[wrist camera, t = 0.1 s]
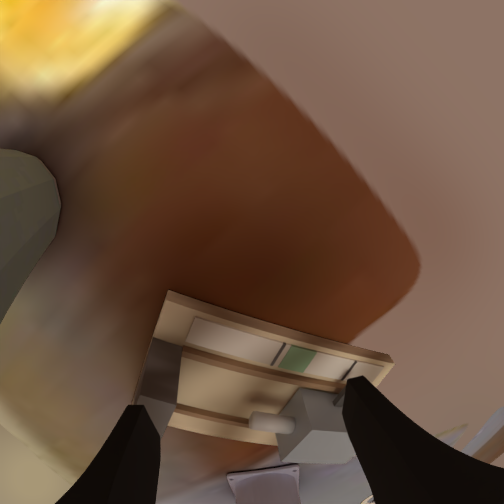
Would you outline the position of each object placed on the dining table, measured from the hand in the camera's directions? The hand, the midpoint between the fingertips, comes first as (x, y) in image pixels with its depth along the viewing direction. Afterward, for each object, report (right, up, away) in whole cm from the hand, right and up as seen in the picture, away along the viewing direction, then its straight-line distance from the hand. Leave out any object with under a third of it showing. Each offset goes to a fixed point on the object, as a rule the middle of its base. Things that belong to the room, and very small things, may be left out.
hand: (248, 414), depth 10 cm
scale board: (+1, -5, +13) cm, 14 cm away
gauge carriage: (+5, -5, +12) cm, 14 cm away
